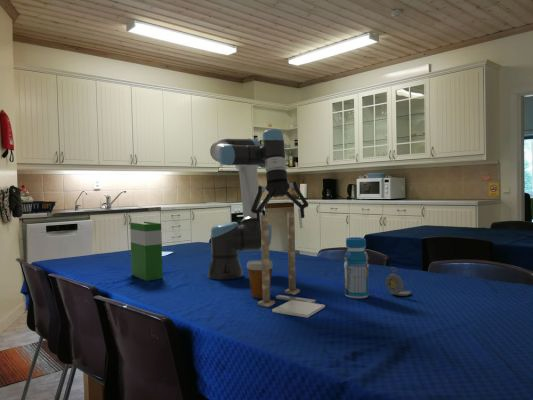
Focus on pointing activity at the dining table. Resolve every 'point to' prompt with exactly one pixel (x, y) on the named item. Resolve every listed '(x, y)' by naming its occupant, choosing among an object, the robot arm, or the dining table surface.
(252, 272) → the disposable coffee cup
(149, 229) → the hardback book
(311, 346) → the dining table surface
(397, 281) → the pocket watch
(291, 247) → the gate posts
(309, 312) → the tile
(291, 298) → the guide strip
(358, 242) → the beverage bottle
